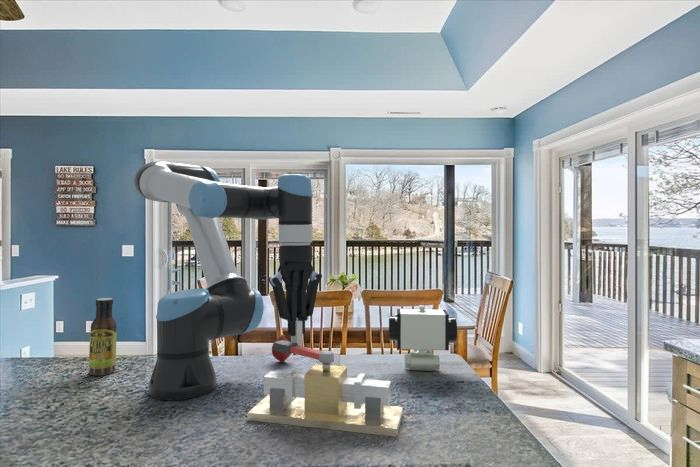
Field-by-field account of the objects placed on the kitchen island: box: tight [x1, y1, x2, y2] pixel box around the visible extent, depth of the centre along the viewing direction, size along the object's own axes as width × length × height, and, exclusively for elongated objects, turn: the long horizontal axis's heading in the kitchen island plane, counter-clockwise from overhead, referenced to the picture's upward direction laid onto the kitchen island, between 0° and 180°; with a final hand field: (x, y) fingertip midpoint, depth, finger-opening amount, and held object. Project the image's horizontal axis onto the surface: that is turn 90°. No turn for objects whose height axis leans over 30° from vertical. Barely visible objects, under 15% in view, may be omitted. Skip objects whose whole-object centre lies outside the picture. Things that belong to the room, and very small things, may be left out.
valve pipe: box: [247, 363, 404, 438], centre depth 86 cm, size 30×10×11 cm, turn 77°
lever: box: [273, 340, 335, 364], centre depth 90 cm, size 16×3×2 cm, turn 52°
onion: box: [271, 334, 292, 363], centre depth 122 cm, size 6×6×8 cm
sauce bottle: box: [88, 297, 118, 376], centre depth 113 cm, size 6×6×20 cm
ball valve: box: [388, 304, 458, 372], centre depth 116 cm, size 18×8×18 cm, turn 84°
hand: (296, 349), depth 94 cm, fingers closed
